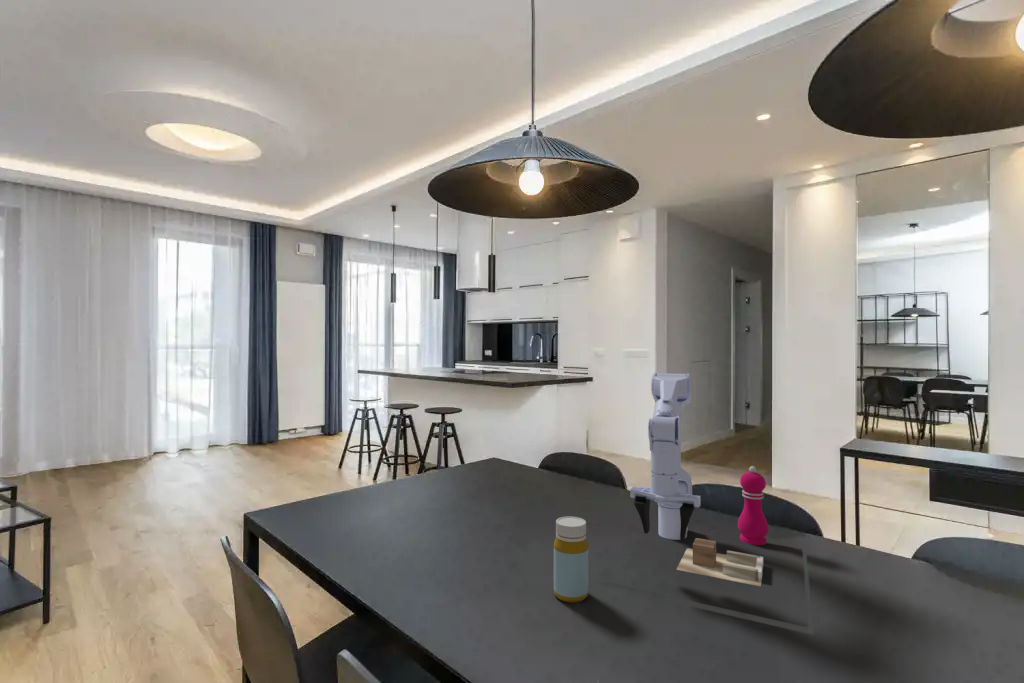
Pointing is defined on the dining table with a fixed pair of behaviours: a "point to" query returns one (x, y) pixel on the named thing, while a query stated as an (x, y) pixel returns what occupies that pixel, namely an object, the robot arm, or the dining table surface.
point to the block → (704, 552)
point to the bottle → (571, 560)
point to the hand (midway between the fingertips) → (664, 535)
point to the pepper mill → (753, 509)
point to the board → (727, 567)
